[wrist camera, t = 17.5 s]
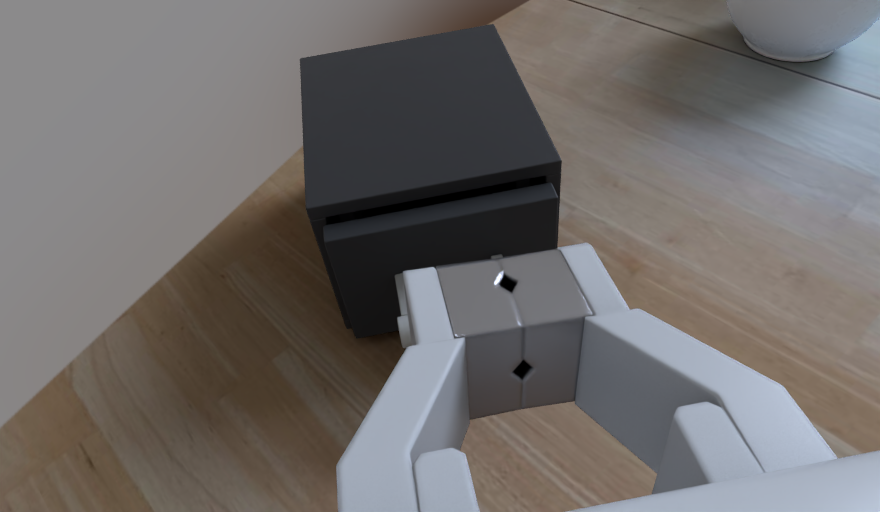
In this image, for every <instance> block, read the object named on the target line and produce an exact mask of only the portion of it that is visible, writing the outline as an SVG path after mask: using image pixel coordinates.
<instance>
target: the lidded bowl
mask: <svg viewBox="0 0 880 512" xmlns="http://www.w3.org/2000/svg"><path fill="white" fill-rule="evenodd" d="M726 1H727V6H728V11H729V14H730V16H731V19H732V21H733V23H734V24H735V26H736V28H737V29H738V31H739V32H740V33H741V34H742V35H743V36H744V41H745V43H746V44H747V45H748V46H749V48H751V49H752V50H753V51H755V52H757V53H759V54H761V55H763V56H766V57H769V58H773V59H777V60H782V61H791V62H805V61H813V60H818V59H822V58H824V57H827V56H828V55H830V54H832V53H833V52H834V51H835V49H837V48H840V47H842V46H844V45H846V44H848V43H849V42H851V41H853V40H855V39H856V38H858V37H859V36H860V35H862V34H863V33H864V32H866V31H867V30H868V29H869V28H870V27H871V26H872V25H873V24H874V23H875V22H876V21H877V20H878V19H879V18H880V0H726Z"/></svg>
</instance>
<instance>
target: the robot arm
mask: <svg viewBox="0 0 880 512" xmlns="http://www.w3.org/2000/svg"><path fill="white" fill-rule="evenodd" d="M403 280H404V289H405V297H406V305H407V313H408V321H409V329H410V336H411V344H412V346H409V347H407V348H406V350H405V351H404V353H403V355H402V356H401V358H400V360H399V361H398V363H397V365H396V366H395V368H394V370H393V371H392V373H391V375H390V376H389V378H388V380H387V381H386V383H385V385H384V386H383V388H382V390H381V392H380V393H379V395H378V397H377V398H376V400H375V402H374V403H373V405H372V407H371V408H370V410H369V412H368V413H367V415H366V417H365V418H364V420H363V422H362V423H361V425H360V427H359V428H358V430H357V432H356V433H355V435H354V437H353V439H352V440H351V442H350V444H349V445H348V447H347V449H346V450H345V452H344V454H343V455H342V457H341V459H340V460H339V462H338V464H337V465H336V470H337V495H338V512H480V511H479V507H478V503H477V499H476V495H475V491H474V487H473V483H472V479H471V475H470V470H469V466H468V462H467V458H466V454H464V453H462V452H460V448H461V445H462V443H463V440H464V437H465V434H466V432H467V429H468V426H469V424H470V420H471V419H476V418H481V417H485V416H490V415H495V414H500V413H505V412H510V411H515V410H519V409H526V408H532V407H539V406H546V405H552V404H559V403H566V402H572V401H575V404H576V405H577V406H578V407H579V408H580V409H582V410H583V411H584V412H585V413H586V414H588V415H589V416H590V417H591V418H592V419H593V420H595V421H596V422H597V423H598V424H599V425H601V426H602V427H603V428H604V429H605V430H606V431H608V432H609V433H610V434H611V435H612V436H614V437H615V438H616V439H617V440H618V441H619V442H621V443H622V444H623V445H624V446H625V447H627V448H628V449H629V450H630V451H631V452H632V453H634V454H635V455H636V456H637V457H638V458H640V459H641V460H642V461H643V462H644V463H645V464H647V465H648V466H649V467H650V468H651V469H652V470H654V471H655V472H656V473H657V477H656V481H655V484H654V488H653V492H652V495H648V496H643V497H638V498H633V499H628V500H622V501H617V502H612V503H607V504H602V505H597V506H592V507H587V508H581V509H576V510H571V511H566V512H880V450H879V451H874V452H869V453H864V454H859V455H854V456H848V457H843V458H837V457H836V455H835V454H834V453H833V451H832V450H831V449H830V447H829V446H828V445H827V443H826V442H825V441H824V439H823V438H822V437H821V435H820V434H819V433H818V431H817V430H816V429H815V427H814V426H813V425H812V423H811V422H810V421H809V419H808V418H807V417H806V416H805V414H804V413H803V412H802V410H801V409H800V408H799V406H798V405H797V404H796V402H795V401H794V400H793V398H792V397H791V396H790V394H789V393H788V392H787V390H786V389H785V388H784V386H782V385H780V384H779V383H777V382H775V381H773V380H771V379H769V378H767V377H766V376H764V375H762V374H760V373H758V372H756V371H754V370H753V369H751V368H749V367H747V366H745V365H743V364H741V363H740V362H738V361H736V360H734V359H732V358H730V357H728V356H727V355H725V354H723V353H721V352H719V351H717V350H715V349H714V348H712V347H710V346H708V345H706V344H704V343H702V342H701V341H699V340H697V339H695V338H693V337H691V336H689V335H687V334H686V333H684V332H682V331H680V330H678V329H676V328H674V327H673V326H671V325H669V324H667V323H665V322H663V321H661V320H660V319H658V318H656V317H654V316H652V315H650V314H648V313H647V312H645V311H643V310H641V309H639V308H638V309H632V310H630V309H629V308H628V306H627V304H626V302H625V301H624V299H623V297H622V296H621V294H620V292H619V291H618V289H617V287H616V286H615V284H614V282H613V281H612V279H611V277H610V276H609V274H608V272H607V271H606V269H605V267H604V266H603V264H602V262H601V261H600V259H599V257H598V256H597V254H596V252H595V250H594V249H593V247H592V246H591V245H590V244H588V243H582V244H576V245H570V246H565V247H559V248H556V249H551V250H545V251H539V252H533V253H526V254H520V255H514V256H508V257H501V258H494V259H486V260H479V261H471V262H463V263H456V264H448V265H441V266H435V268H434V267H429V268H422V269H414V270H407V271H403Z"/></svg>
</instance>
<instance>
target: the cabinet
mask: <svg viewBox="0 0 880 512" xmlns="http://www.w3.org/2000/svg"><path fill="white" fill-rule="evenodd" d="M300 69H301V96H302V122H303V148H304V174H305V200H306V211H307V214H308V217H309V219H310V223H311V225H312V228H313V231H314V234H315V237H316V240H317V243H318V246H319V249H320V252H321V255H322V258H323V261H324V264H325V267H326V270H327V272H328V275H329V278H330V281H331V284H332V287H333V290H334V293H335V296H336V299H337V302H338V305H339V308H340V311H341V314H342V317H343V319H344V323H345V326H346V328H347V329H349V328H352V325H351V322H350V319H349V316H348V313H347V310H346V307H345V304H344V301H343V298H342V295H341V292H340V289H339V286H338V283H337V280H336V277H335V274H334V271H333V268H332V265H331V262H330V259H329V256H328V253H327V250H326V246H325V243H324V233H323V227H324V226H325V225H330V224H335V223H341V222H340V218H339V215H340V214H346V213H351V212H356V211H361V210H367V209H372V208H377V207H382V206H388V205H393V204H398V203H403V202H409V201H414V200H419V199H424V198H430V197H435V196H440V195H446V194H451V193H456V192H461V191H467V190H472V189H477V188H482V187H488V186H493V185H498V184H503V183H509V182H514V181H519V180H525V179H530V186H535V185H540V184H545V183H552V185H553V187H554V189H555V191H556V193H557V196H558V214H557V236H556V248H557V243H558V223H559V203H560V183H561V162H562V160H561V158H560V156H559V154H558V152H557V150H556V148H555V146H554V144H553V142H552V140H551V138H550V136H549V134H548V132H547V130H546V128H545V126H544V124H543V122H542V120H541V118H540V116H539V114H538V112H537V110H536V108H535V106H534V104H533V102H532V100H531V98H530V96H529V94H528V92H527V90H526V88H525V86H524V84H523V82H522V80H521V78H520V76H519V74H518V72H517V70H516V68H515V66H514V64H513V62H512V60H511V58H510V56H509V54H508V52H507V50H506V48H505V46H504V44H503V42H502V40H501V38H500V36H499V34H498V32H497V30H496V28H495V26H494V24H491V25H485V26H480V27H474V28H469V29H463V30H458V31H452V32H447V33H441V34H436V35H430V36H424V37H418V38H413V39H407V40H401V41H396V42H390V43H385V44H379V45H373V46H368V47H362V48H356V49H351V50H345V51H339V52H334V53H328V54H323V55H317V56H312V57H306V58H301V59H300Z"/></svg>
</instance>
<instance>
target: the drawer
mask: <svg viewBox="0 0 880 512" xmlns="http://www.w3.org/2000/svg"><path fill="white" fill-rule="evenodd" d="M557 214H558V196H557V193H556V191H555V189H554V187H553V185H552V183H545V184H540V185H535V186H530V179H525V180H519V181H514V182H509V183H503V184H498V185H493V186H488V187H482V188H477V189H472V190H467V191H461V192H456V193H451V194H446V195H440V196H435V197H430V198H424V199H419V200H414V201H409V202H403V203H398V204H393V205H388V206H382V207H377V208H372V209H367V210H361V211H356V212H351V213H346V214H340V215H339V218H340V222H341V223H335V224H330V225H325V226H324V227H323V233H324V243H325V246H326V250H327V253H328V256H329V259H330V262H331V265H332V268H333V271H334V274H335V277H336V280H337V283H338V286H339V289H340V292H341V295H342V298H343V301H344V304H345V307H346V310H347V313H348V316H349V319H350V322H351V325H352V328H353V332H354V335H355V337H356V338H362V337H367V336H372V335H377V334H382V333H387V332H392V331H397V330H399V333H400V338H401V343H402V347H403V348H407V347H409V346H412V344H411V336H410V329H409V321H408V313H407V305H406V297H405V289H404V280H403V271H407V270H414V269H422V268H429V267H434V268H435V266H441V265H448V264H456V263H463V262H471V261H479V260H486V259H494V258H501V257H508V256H514V255H520V254H526V253H533V252H539V251H545V250H551V249H556V236H557Z"/></svg>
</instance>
